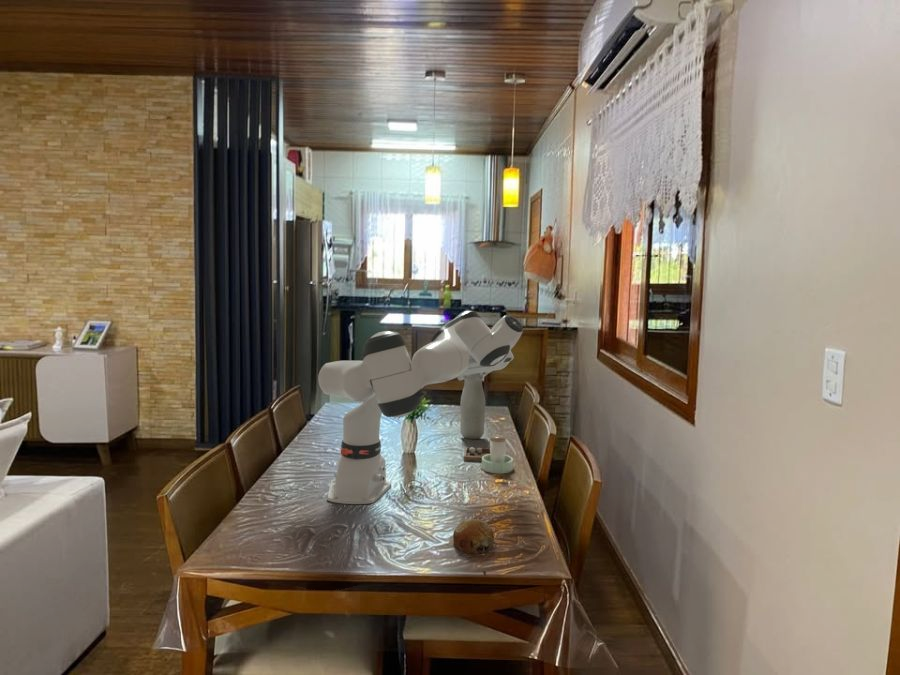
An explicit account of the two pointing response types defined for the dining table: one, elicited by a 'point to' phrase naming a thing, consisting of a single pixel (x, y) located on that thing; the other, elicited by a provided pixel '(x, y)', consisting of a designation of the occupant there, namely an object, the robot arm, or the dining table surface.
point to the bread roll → (473, 536)
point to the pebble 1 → (472, 450)
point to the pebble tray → (475, 455)
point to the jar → (497, 448)
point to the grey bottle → (472, 407)
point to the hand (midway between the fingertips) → (471, 376)
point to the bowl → (497, 465)
